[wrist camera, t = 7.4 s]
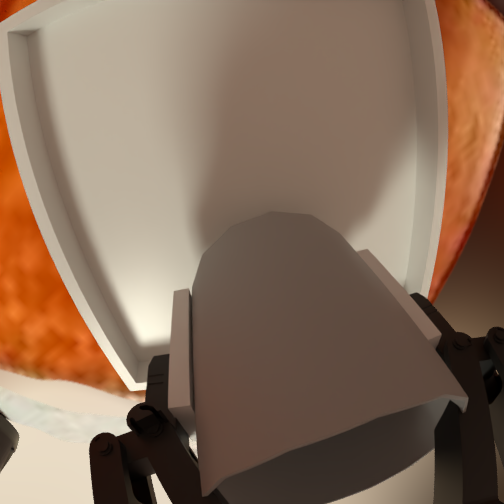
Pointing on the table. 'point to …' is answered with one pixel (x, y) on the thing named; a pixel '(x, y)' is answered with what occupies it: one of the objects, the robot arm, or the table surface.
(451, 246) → the table surface
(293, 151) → the shallow white dish
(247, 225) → the cup
